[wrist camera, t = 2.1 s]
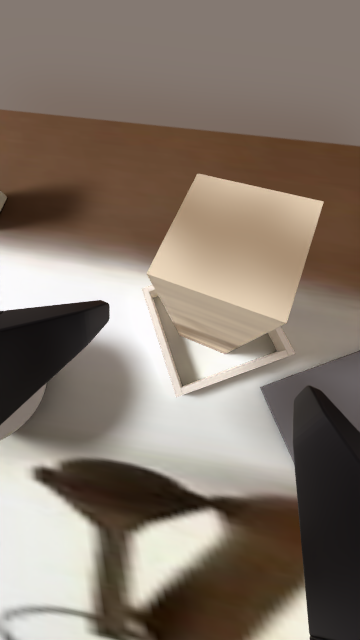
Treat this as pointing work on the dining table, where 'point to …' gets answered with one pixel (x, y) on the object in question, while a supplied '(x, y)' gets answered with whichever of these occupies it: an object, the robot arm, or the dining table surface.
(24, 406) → the teacup
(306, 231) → the birch block
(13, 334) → the robot arm
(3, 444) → the dining table surface
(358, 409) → the mat
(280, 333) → the tray
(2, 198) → the skincare box
